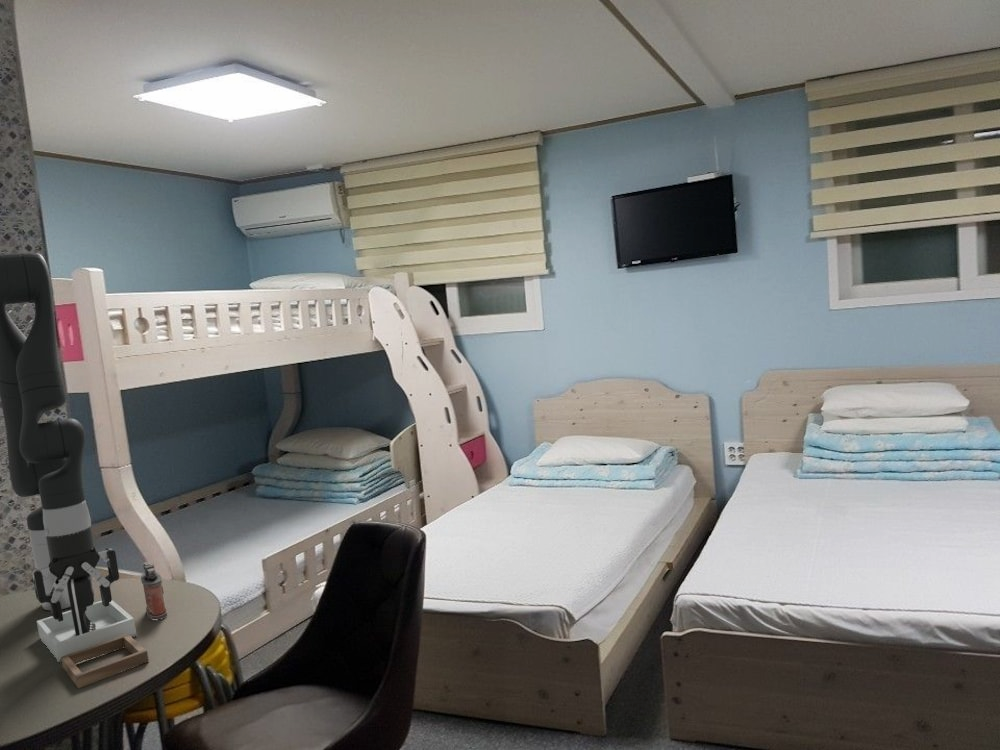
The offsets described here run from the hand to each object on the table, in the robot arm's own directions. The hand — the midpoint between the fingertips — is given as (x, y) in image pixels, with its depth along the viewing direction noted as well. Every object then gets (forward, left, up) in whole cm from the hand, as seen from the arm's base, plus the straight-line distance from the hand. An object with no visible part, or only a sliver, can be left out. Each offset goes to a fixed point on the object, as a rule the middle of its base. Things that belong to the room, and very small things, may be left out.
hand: (83, 612), depth 150 cm
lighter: (0, +13, -5) cm, 14 cm away
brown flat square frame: (+16, -1, -5) cm, 17 cm away
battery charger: (0, 0, -5) cm, 5 cm away
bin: (0, 0, -5) cm, 5 cm away
